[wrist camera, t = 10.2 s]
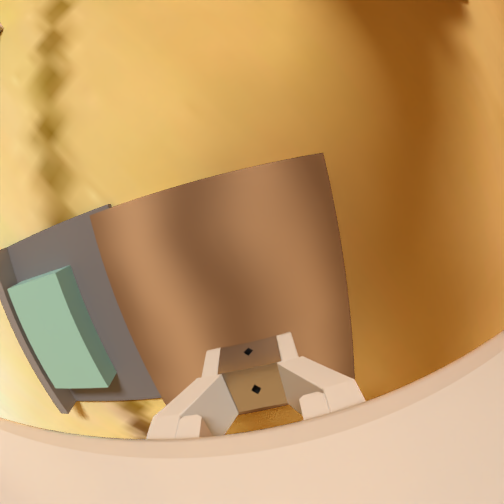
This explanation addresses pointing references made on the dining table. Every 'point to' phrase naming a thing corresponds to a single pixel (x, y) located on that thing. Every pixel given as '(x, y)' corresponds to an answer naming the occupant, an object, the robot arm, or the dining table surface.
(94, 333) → the pale green rectangular block
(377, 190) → the dining table surface
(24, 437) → the robot arm
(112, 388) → the tray
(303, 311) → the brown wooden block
